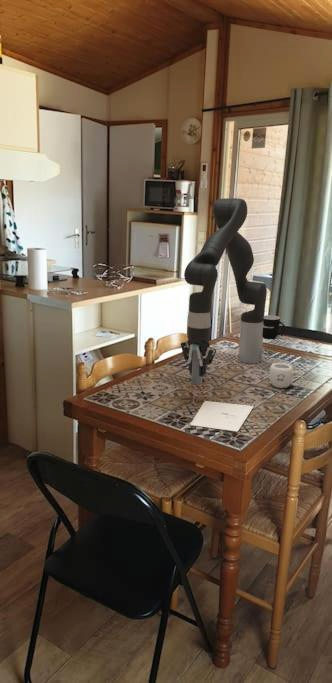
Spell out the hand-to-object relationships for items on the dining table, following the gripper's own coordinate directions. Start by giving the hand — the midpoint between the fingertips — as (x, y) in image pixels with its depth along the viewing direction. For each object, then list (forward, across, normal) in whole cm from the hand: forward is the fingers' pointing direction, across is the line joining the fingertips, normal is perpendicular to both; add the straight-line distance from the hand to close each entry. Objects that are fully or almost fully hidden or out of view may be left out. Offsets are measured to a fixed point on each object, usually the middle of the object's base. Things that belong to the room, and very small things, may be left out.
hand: (197, 374), depth 181 cm
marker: (+3, 0, 0) cm, 3 cm away
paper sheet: (+10, -9, +7) cm, 15 cm away
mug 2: (+9, -15, -33) cm, 38 cm away
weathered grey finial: (+9, +12, -15) cm, 21 cm away
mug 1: (+9, +25, -89) cm, 93 cm away
